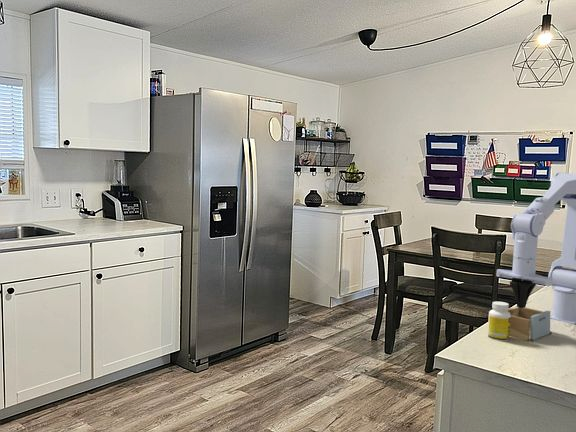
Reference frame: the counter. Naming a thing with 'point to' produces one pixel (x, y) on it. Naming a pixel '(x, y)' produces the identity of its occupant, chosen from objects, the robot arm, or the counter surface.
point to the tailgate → (540, 325)
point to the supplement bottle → (499, 322)
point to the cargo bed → (521, 322)
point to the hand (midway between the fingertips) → (521, 307)
